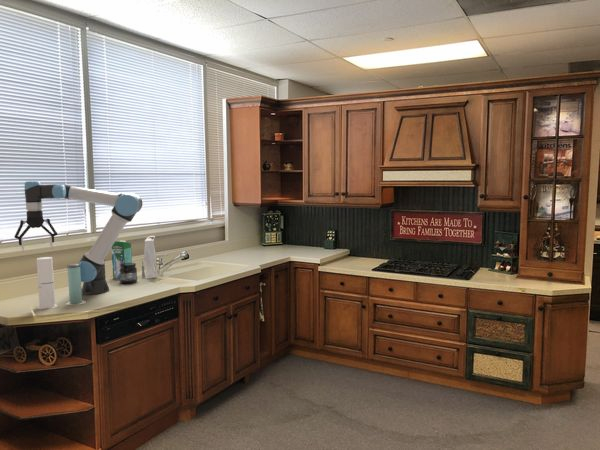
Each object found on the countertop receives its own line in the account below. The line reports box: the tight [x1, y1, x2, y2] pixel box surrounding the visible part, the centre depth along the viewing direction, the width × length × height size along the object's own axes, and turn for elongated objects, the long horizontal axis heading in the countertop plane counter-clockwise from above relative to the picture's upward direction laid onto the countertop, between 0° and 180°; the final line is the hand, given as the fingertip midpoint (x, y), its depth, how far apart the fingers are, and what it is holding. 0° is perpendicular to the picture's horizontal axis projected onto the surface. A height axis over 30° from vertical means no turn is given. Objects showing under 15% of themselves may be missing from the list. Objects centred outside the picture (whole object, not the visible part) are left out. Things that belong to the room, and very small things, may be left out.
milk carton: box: [111, 240, 133, 280], centre depth 328 cm, size 9×9×25 cm
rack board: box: [36, 299, 87, 310], centre depth 254 cm, size 24×12×1 cm, turn 123°
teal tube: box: [66, 263, 83, 305], centre depth 257 cm, size 6×6×20 cm
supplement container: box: [119, 262, 138, 285], centre depth 313 cm, size 10×10×12 cm
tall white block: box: [36, 256, 56, 309], centre depth 249 cm, size 7×7×25 cm
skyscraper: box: [141, 235, 158, 280], centre depth 326 cm, size 8×8×28 cm
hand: (37, 249), depth 263 cm, fingers open, 13 cm apart
